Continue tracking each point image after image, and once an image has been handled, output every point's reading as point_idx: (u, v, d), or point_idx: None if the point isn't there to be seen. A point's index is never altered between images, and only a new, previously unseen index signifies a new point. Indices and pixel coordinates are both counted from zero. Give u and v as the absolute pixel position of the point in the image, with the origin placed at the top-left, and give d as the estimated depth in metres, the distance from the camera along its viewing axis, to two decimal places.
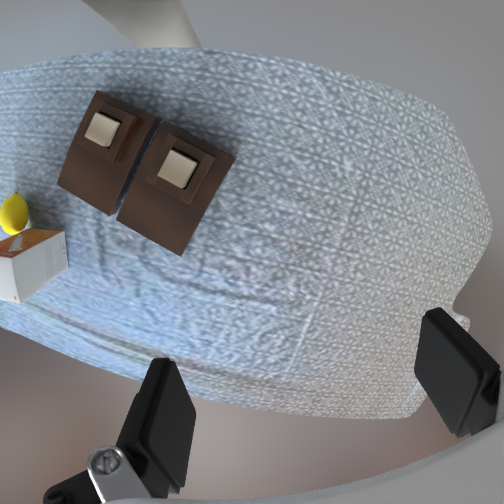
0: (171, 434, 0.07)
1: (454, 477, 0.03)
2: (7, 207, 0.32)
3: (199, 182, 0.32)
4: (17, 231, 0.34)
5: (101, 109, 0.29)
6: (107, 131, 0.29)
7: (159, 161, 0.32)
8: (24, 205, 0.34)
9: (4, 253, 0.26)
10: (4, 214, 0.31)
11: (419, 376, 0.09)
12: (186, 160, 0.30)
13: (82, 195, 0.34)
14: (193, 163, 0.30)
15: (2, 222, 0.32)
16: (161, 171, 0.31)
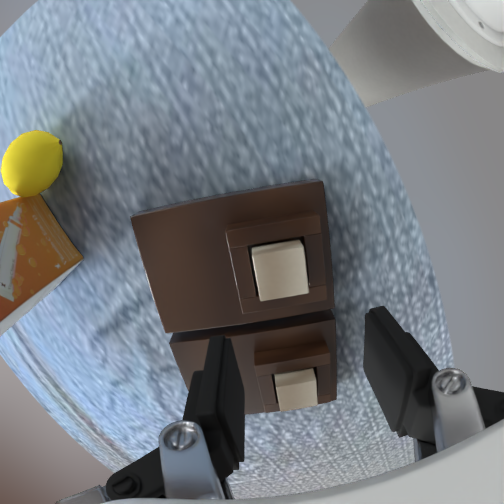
0: (234, 407, 0.08)
1: (454, 477, 0.03)
2: (28, 157, 0.16)
3: None
4: None
5: (307, 237, 0.19)
6: (287, 292, 0.19)
7: (289, 365, 0.22)
8: (56, 173, 0.19)
9: None
10: (16, 162, 0.16)
11: (367, 373, 0.10)
12: (314, 398, 0.22)
13: (153, 277, 0.22)
14: (315, 404, 0.22)
15: (6, 166, 0.16)
16: (283, 387, 0.21)
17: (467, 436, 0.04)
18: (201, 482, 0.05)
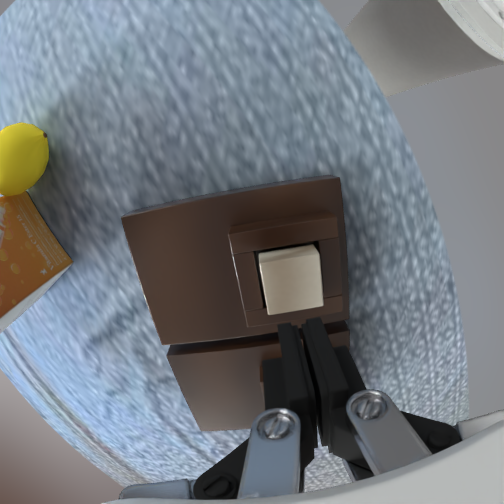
0: None
1: (455, 477, 0.03)
2: (9, 152, 0.13)
3: None
4: None
5: (322, 242, 0.16)
6: (299, 304, 0.16)
7: None
8: (41, 169, 0.16)
9: None
10: None
11: None
12: None
13: (147, 285, 0.19)
14: None
15: None
16: None
17: (407, 458, 0.04)
18: (282, 477, 0.05)
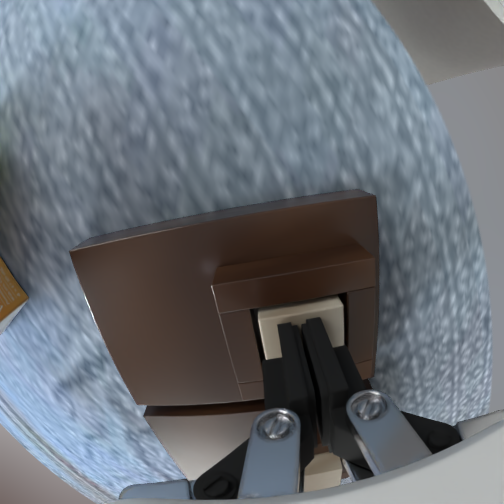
0: None
1: (454, 477, 0.03)
2: None
3: None
4: None
5: (352, 294, 0.11)
6: None
7: None
8: None
9: None
10: None
11: None
12: (337, 482, 0.14)
13: (110, 338, 0.14)
14: None
15: None
16: None
17: (407, 458, 0.04)
18: (282, 477, 0.05)
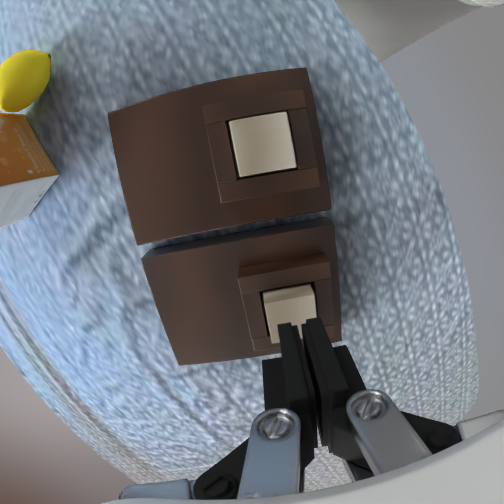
0: None
1: (454, 477, 0.03)
2: (17, 66, 0.13)
3: None
4: (3, 109, 0.15)
5: (291, 111, 0.16)
6: (270, 164, 0.16)
7: (280, 278, 0.19)
8: (41, 85, 0.16)
9: None
10: (5, 72, 0.13)
11: None
12: None
13: (126, 176, 0.19)
14: None
15: None
16: (274, 305, 0.18)
17: (407, 458, 0.04)
18: (282, 477, 0.05)
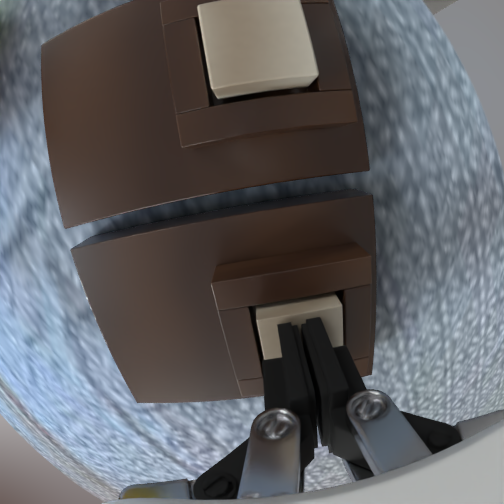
0: None
1: (455, 477, 0.03)
2: None
3: None
4: None
5: (305, 5, 0.08)
6: (270, 67, 0.07)
7: (285, 285, 0.11)
8: None
9: None
10: None
11: None
12: None
13: (53, 124, 0.10)
14: None
15: None
16: (273, 323, 0.11)
17: (407, 458, 0.04)
18: (282, 477, 0.05)
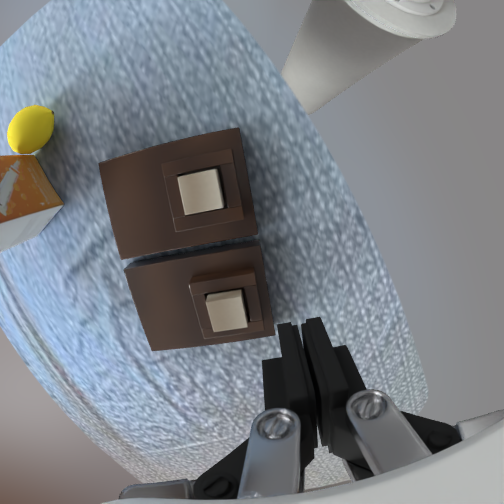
0: None
1: (455, 477, 0.03)
2: (28, 121, 0.21)
3: (231, 334, 0.28)
4: (18, 152, 0.23)
5: (222, 166, 0.24)
6: (205, 206, 0.23)
7: (218, 284, 0.27)
8: (48, 135, 0.24)
9: None
10: (19, 125, 0.20)
11: None
12: (243, 318, 0.26)
13: (112, 210, 0.26)
14: (245, 326, 0.27)
15: (11, 129, 0.20)
16: (212, 303, 0.26)
17: (407, 458, 0.04)
18: (282, 477, 0.05)
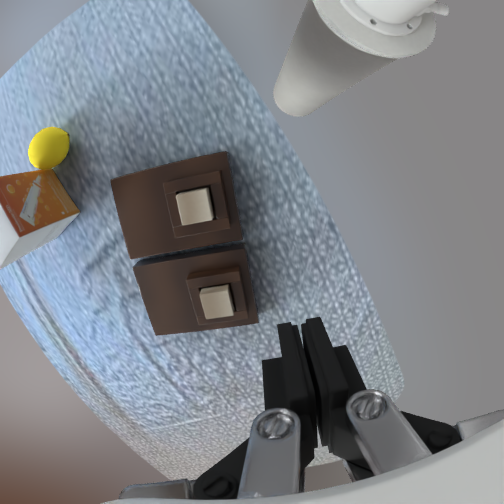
0: None
1: (455, 477, 0.03)
2: (48, 143, 0.27)
3: (220, 321, 0.35)
4: (39, 168, 0.29)
5: (212, 185, 0.30)
6: (198, 218, 0.29)
7: (210, 280, 0.33)
8: (65, 154, 0.29)
9: (14, 219, 0.22)
10: (39, 146, 0.26)
11: None
12: (229, 308, 0.32)
13: (123, 218, 0.32)
14: (231, 314, 0.33)
15: (32, 149, 0.26)
16: (205, 295, 0.32)
17: (406, 458, 0.04)
18: (282, 477, 0.05)
